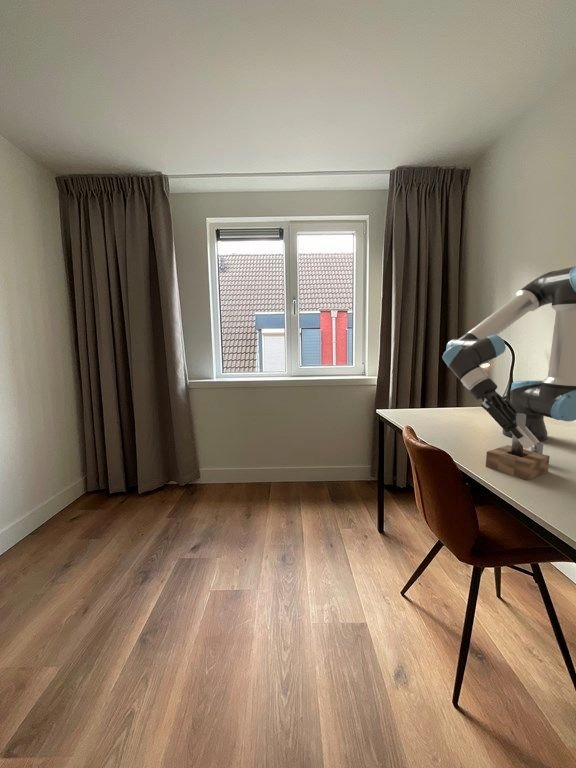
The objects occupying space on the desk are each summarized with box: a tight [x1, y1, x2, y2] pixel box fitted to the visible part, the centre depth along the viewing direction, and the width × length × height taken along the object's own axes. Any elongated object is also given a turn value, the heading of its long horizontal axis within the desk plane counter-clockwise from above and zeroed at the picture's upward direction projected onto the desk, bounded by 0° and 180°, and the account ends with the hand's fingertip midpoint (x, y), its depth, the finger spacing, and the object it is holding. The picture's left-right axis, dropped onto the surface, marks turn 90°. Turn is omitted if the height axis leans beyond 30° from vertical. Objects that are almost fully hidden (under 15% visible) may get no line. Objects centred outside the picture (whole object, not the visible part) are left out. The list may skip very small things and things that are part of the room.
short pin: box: [530, 442, 544, 454], centre depth 109 cm, size 3×3×6 cm
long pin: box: [511, 413, 526, 457], centre depth 102 cm, size 3×3×14 cm
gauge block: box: [485, 444, 550, 481], centre depth 103 cm, size 12×12×5 cm
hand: (532, 445), depth 99 cm, fingers closed on long pin, 3 cm apart
